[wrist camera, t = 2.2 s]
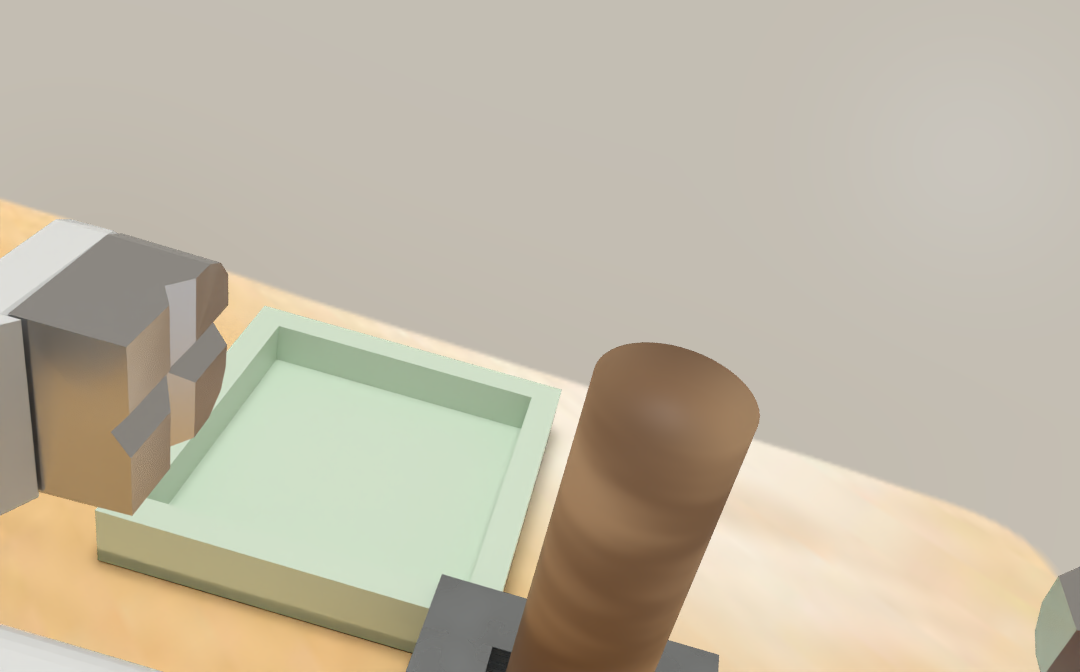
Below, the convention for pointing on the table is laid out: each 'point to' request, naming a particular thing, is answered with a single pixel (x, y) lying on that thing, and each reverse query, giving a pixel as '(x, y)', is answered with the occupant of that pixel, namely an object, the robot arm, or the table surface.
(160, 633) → the table surface
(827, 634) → the table surface
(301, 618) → the tray
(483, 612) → the socket block
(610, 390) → the dowel
